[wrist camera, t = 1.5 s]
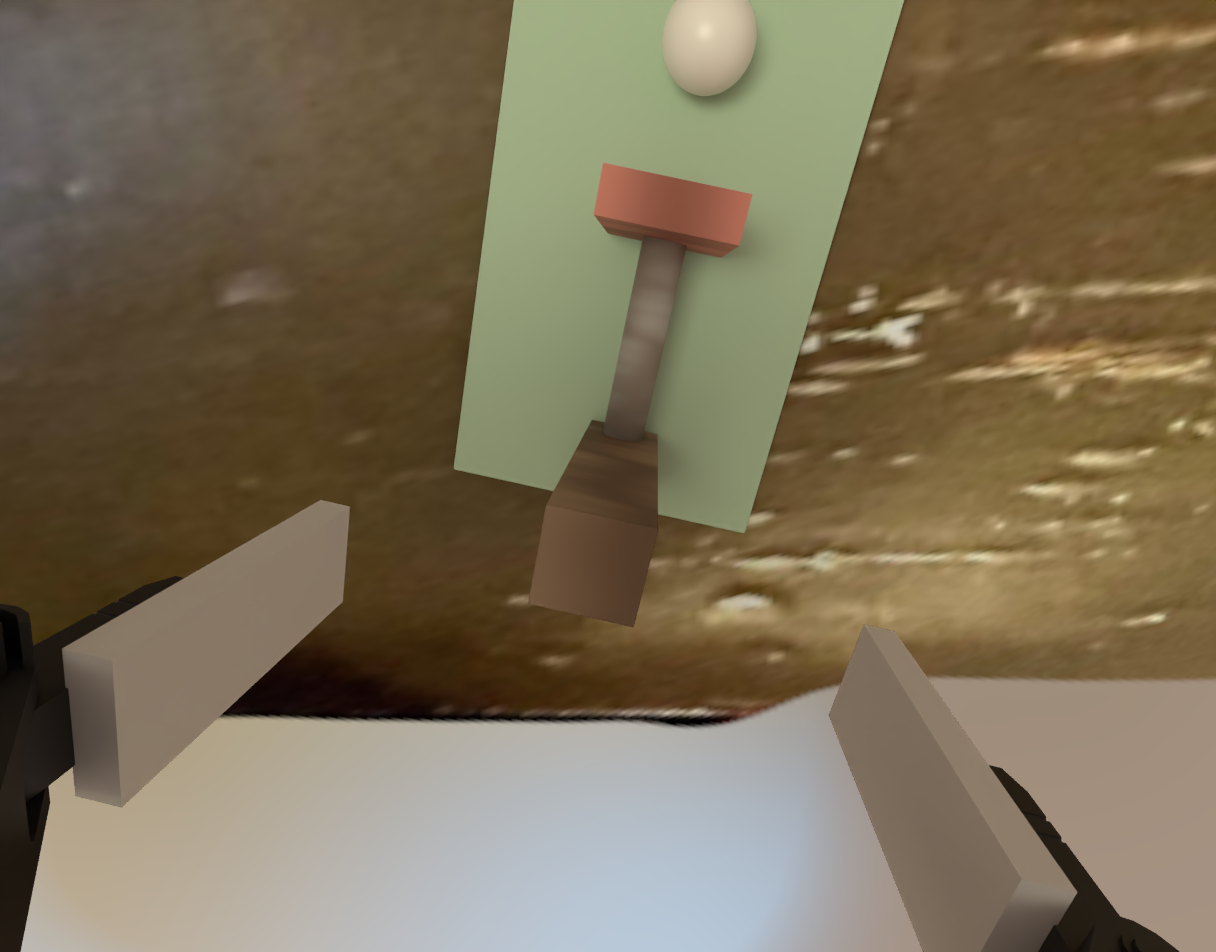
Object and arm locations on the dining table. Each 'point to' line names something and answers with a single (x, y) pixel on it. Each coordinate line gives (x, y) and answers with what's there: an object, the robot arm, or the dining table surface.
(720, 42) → the ball
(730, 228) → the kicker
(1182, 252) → the dining table surface
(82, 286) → the dining table surface
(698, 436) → the mat
